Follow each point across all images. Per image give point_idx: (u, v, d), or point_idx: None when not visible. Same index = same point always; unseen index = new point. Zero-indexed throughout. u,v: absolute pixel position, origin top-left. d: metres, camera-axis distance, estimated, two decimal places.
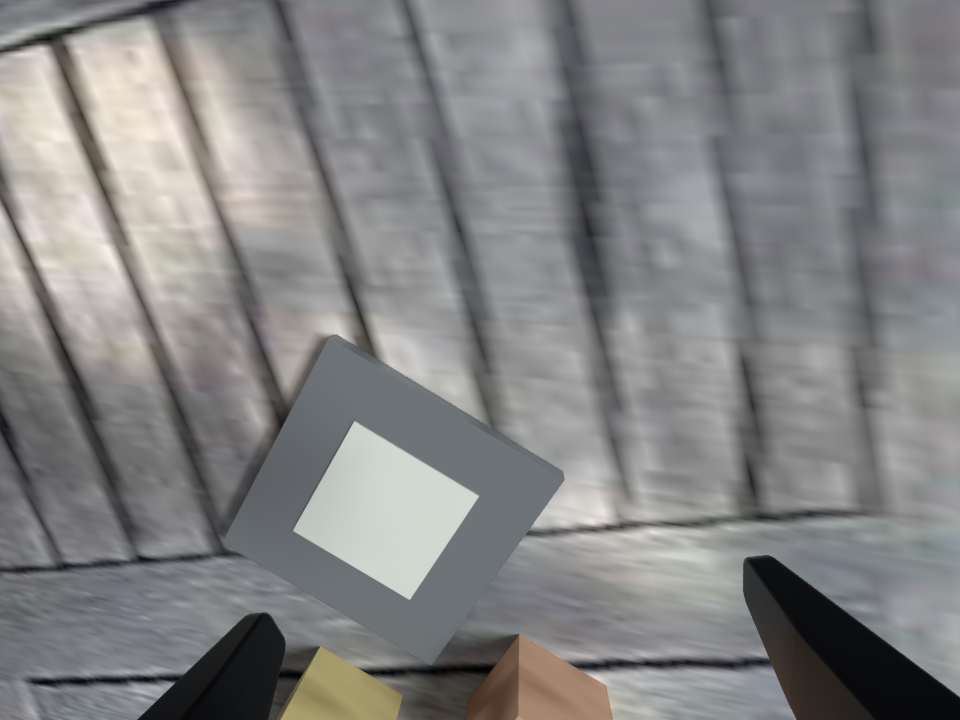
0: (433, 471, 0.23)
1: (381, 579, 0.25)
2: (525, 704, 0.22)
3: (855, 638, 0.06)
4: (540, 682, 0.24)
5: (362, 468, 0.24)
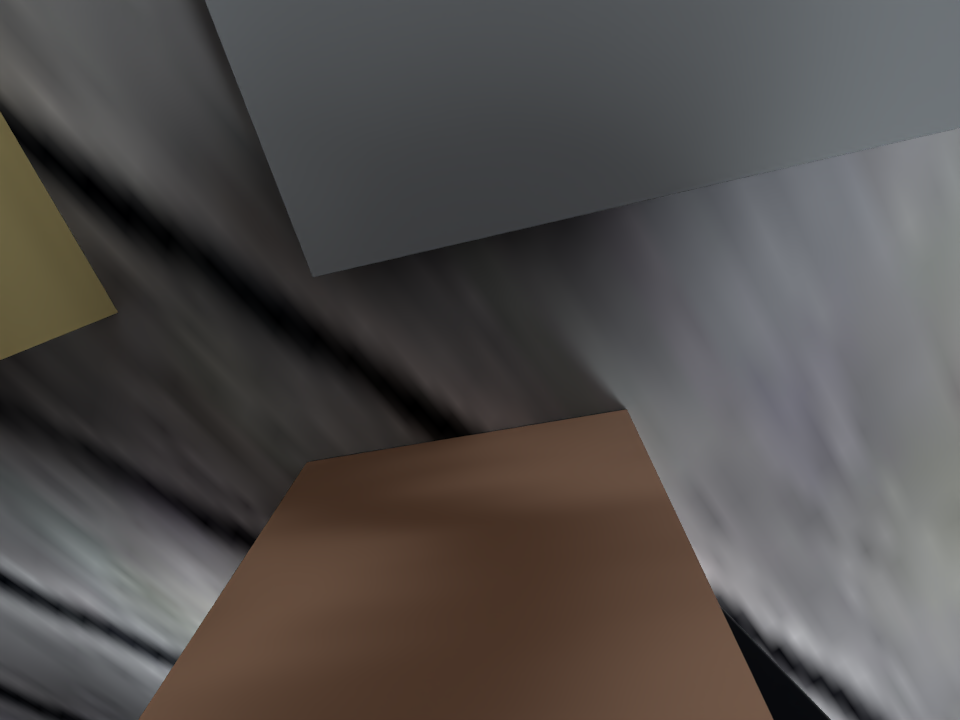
0: None
1: None
2: (744, 690, 0.04)
3: None
4: None
5: None
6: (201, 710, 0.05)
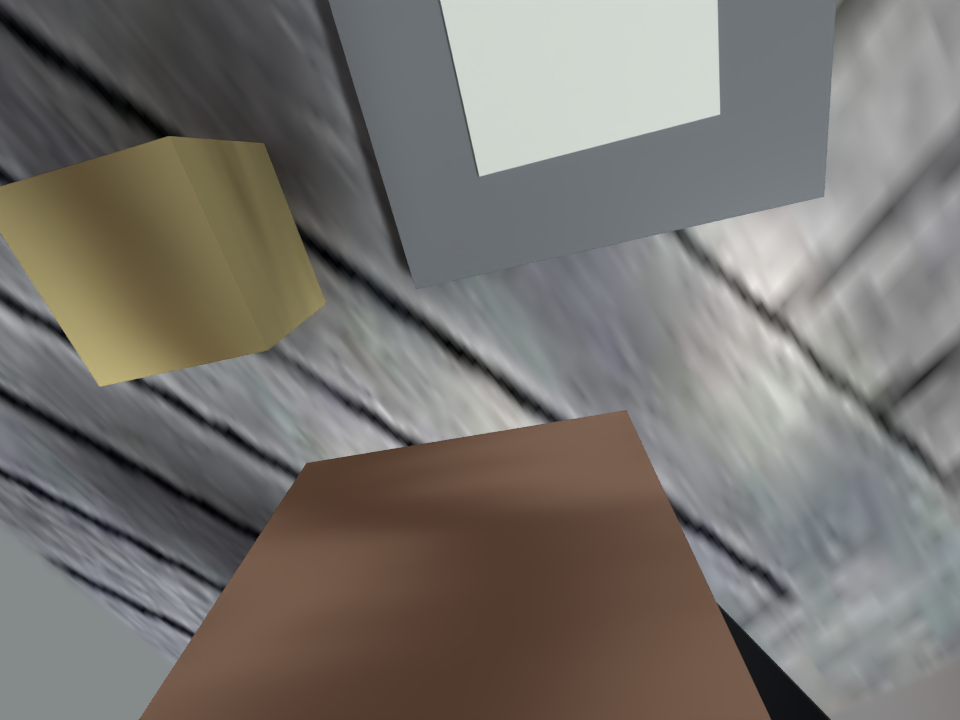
0: (710, 11, 0.13)
1: (468, 109, 0.14)
2: (744, 691, 0.04)
3: None
4: None
5: None
6: (201, 711, 0.05)
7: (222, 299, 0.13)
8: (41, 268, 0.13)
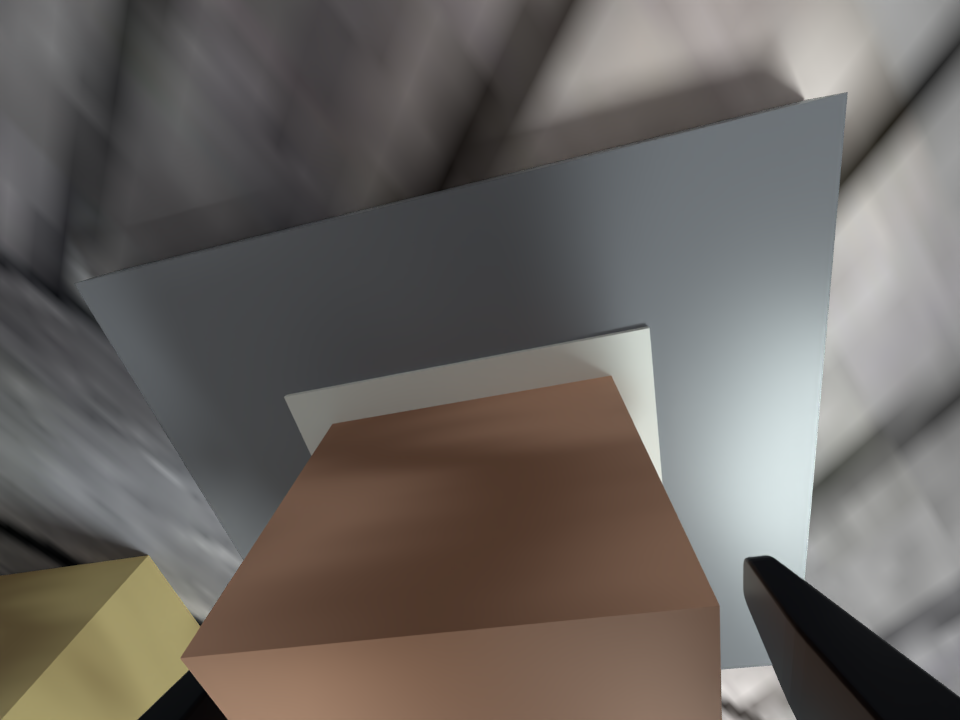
0: None
1: None
2: None
3: (855, 638, 0.06)
4: None
5: None
6: (266, 594, 0.06)
7: None
8: None
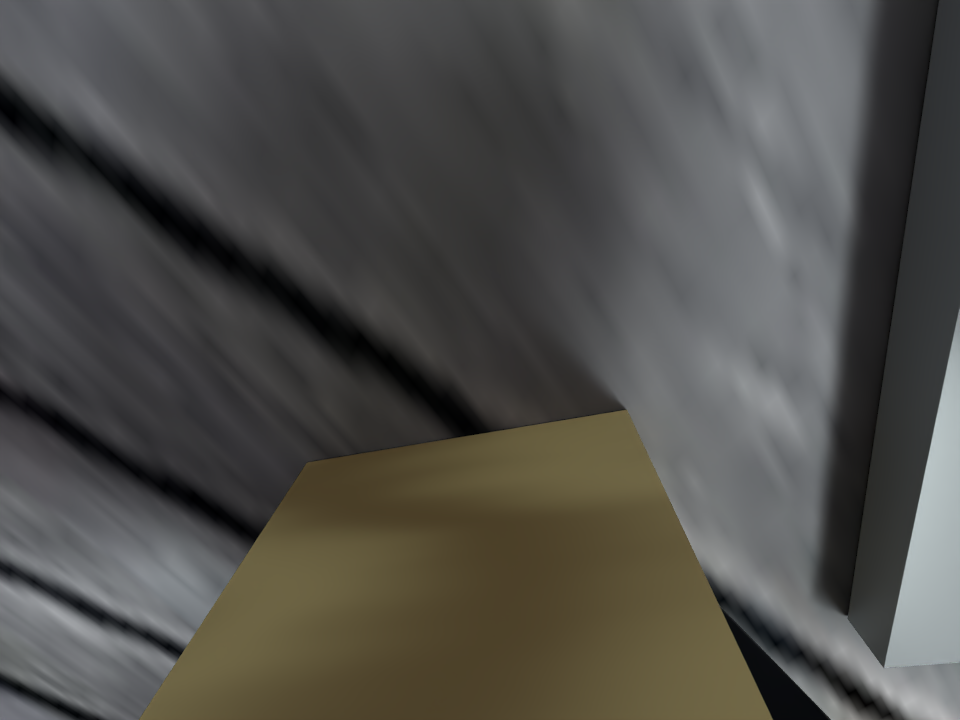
0: None
1: None
2: None
3: None
4: None
5: None
6: None
7: None
8: None
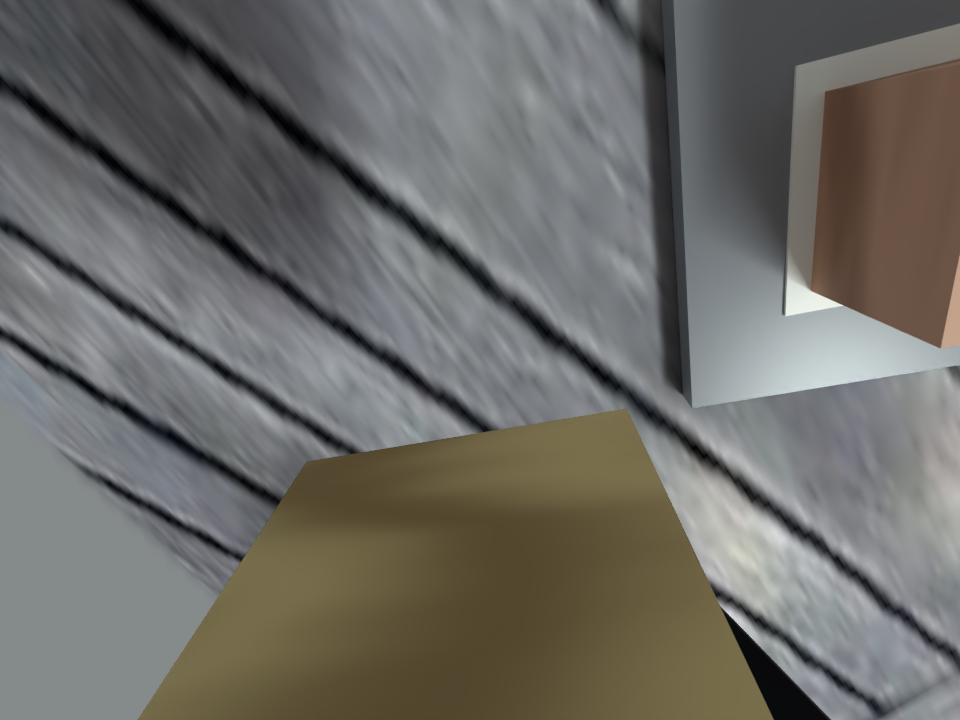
0: None
1: (790, 259, 0.15)
2: None
3: None
4: None
5: None
6: None
7: None
8: None
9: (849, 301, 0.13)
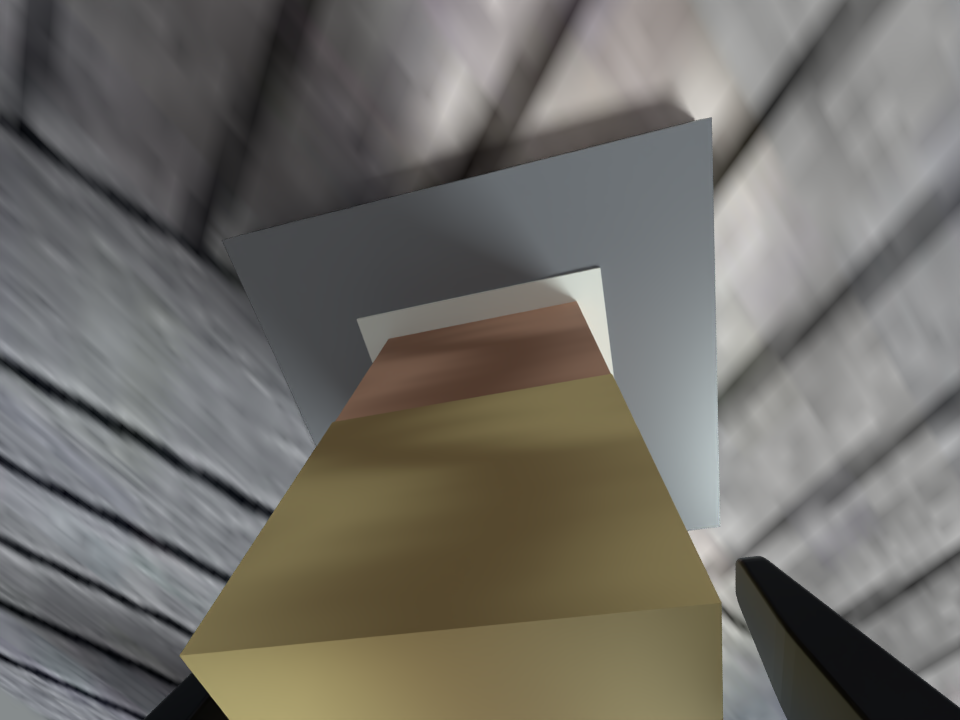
0: None
1: None
2: None
3: (845, 639, 0.06)
4: None
5: None
6: (373, 401, 0.10)
7: None
8: None
9: None
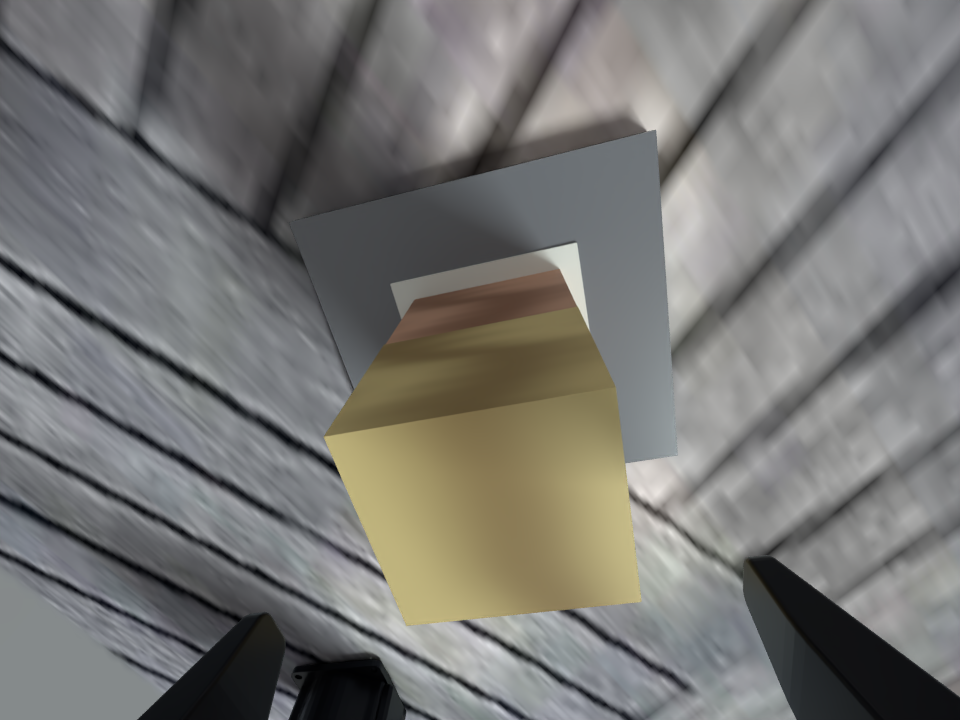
0: None
1: None
2: None
3: (855, 638, 0.06)
4: None
5: None
6: (410, 333, 0.14)
7: (606, 552, 0.10)
8: (380, 512, 0.10)
9: None
